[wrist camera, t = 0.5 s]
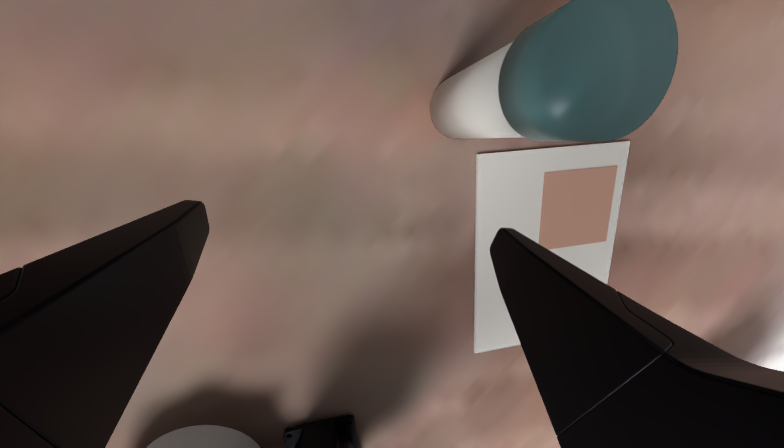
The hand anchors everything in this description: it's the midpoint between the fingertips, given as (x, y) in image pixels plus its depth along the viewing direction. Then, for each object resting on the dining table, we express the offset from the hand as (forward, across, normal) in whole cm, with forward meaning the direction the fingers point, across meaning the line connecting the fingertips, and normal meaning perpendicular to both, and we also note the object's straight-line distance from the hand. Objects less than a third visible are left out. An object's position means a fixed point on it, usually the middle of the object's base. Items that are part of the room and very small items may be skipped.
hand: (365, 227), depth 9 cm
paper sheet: (+11, -19, +9) cm, 23 cm away
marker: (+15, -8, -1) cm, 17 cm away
